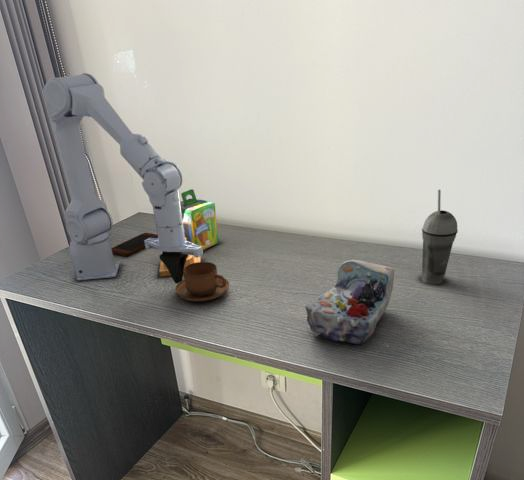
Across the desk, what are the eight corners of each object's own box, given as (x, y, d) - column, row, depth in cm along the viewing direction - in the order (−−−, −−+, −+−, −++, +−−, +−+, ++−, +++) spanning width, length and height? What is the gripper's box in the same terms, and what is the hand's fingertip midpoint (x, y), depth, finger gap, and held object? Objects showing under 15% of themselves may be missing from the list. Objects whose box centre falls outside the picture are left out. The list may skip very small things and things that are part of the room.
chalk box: (197, 254, 132) (190, 198, 124) (173, 247, 137) (164, 193, 128) (220, 243, 138) (214, 189, 130) (196, 237, 143) (189, 185, 134)
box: (160, 276, 121) (157, 264, 119) (162, 264, 127) (160, 252, 126) (201, 272, 121) (199, 260, 120) (200, 260, 128) (199, 248, 126)
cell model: (402, 258, 95) (371, 305, 81) (397, 306, 101) (367, 359, 87) (338, 249, 101) (298, 292, 86) (336, 295, 107) (299, 343, 92)
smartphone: (163, 235, 142) (126, 253, 132) (163, 238, 143) (127, 256, 132) (145, 231, 146) (107, 249, 135) (145, 234, 146) (108, 252, 136)
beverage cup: (451, 287, 107) (466, 195, 96) (416, 286, 109) (428, 195, 98) (447, 273, 113) (462, 184, 102) (414, 272, 115) (425, 185, 104)
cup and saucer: (233, 282, 116) (230, 257, 112) (225, 306, 106) (222, 280, 103) (183, 282, 117) (179, 258, 114) (170, 306, 107) (166, 280, 104)
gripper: (207, 221, 106) (214, 279, 113) (154, 214, 112) (164, 269, 119) (188, 232, 100) (196, 292, 108) (134, 224, 107) (145, 281, 114)
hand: (178, 281), depth 113 cm, fingers closed
